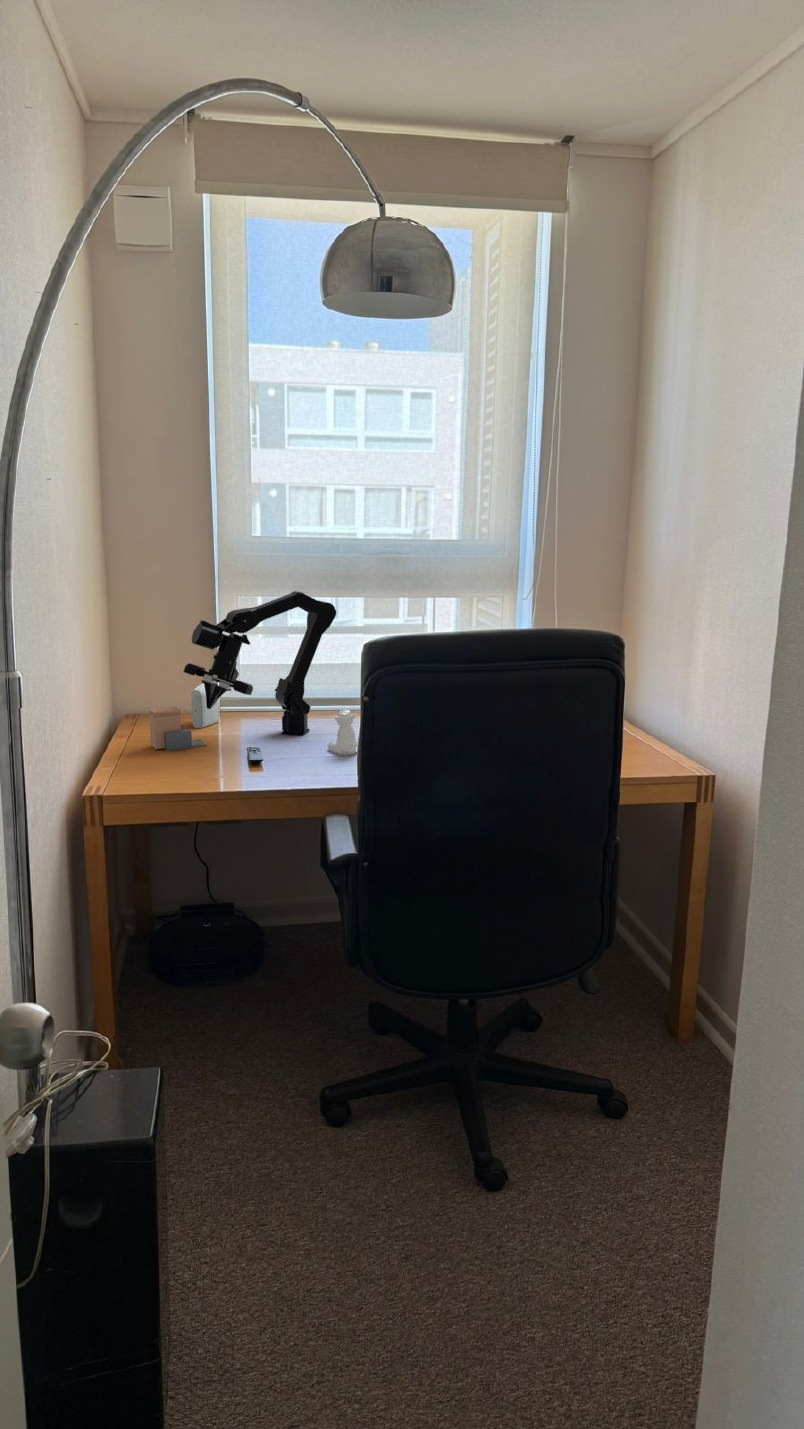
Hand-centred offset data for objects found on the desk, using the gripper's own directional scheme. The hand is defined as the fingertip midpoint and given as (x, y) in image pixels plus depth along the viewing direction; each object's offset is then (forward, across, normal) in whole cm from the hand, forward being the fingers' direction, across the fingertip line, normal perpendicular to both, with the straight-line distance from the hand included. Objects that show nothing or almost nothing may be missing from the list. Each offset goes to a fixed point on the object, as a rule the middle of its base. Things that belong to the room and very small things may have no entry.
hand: (208, 708), depth 263 cm
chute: (+12, +3, +2) cm, 12 cm away
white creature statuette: (-2, -41, +1) cm, 41 cm away
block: (+13, +6, +5) cm, 15 cm away
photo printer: (+7, +7, -22) cm, 24 cm away
